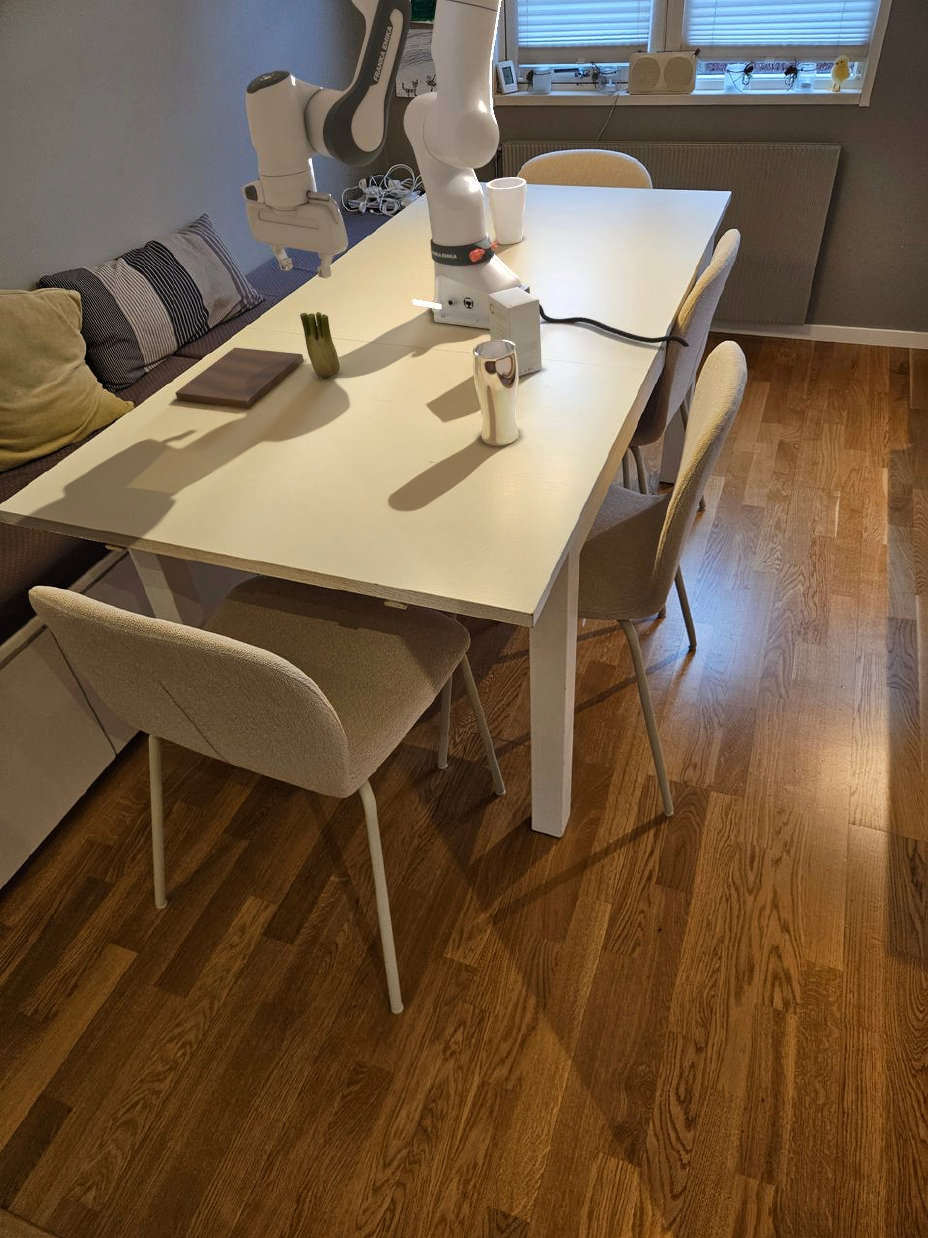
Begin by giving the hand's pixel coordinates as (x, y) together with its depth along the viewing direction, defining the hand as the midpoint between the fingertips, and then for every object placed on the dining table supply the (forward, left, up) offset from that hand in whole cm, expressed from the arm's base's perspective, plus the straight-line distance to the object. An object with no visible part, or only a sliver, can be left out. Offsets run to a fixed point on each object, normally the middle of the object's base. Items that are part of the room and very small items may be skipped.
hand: (305, 273), depth 152 cm
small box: (-30, -20, -19) cm, 41 cm away
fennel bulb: (0, 0, -19) cm, 19 cm away
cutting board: (+13, +10, -19) cm, 25 cm away
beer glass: (-43, +2, -19) cm, 47 cm away
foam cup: (+14, -76, -19) cm, 80 cm away
